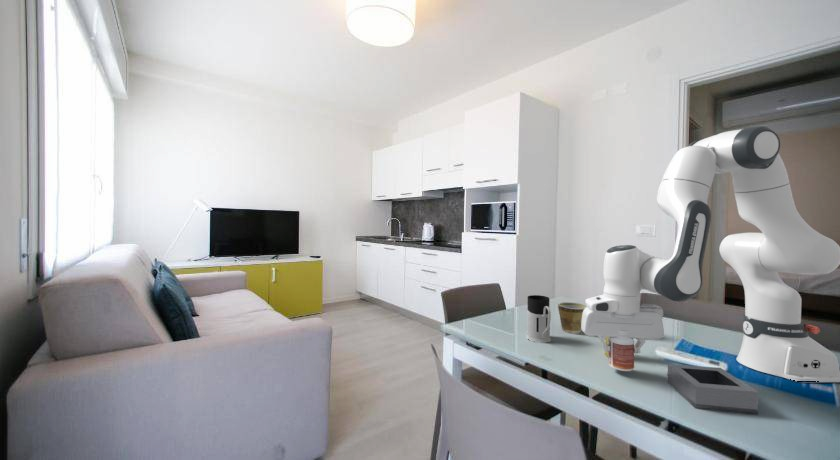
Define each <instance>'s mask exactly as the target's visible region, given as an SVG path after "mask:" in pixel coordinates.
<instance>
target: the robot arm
mask: <svg viewBox="0 0 840 460" xmlns="http://www.w3.org/2000/svg"><path fill="white" fill-rule="evenodd" d="M780 149H781V140H780V137H779V135H778V134H777V133H776V132H775V131H774V130H772V129H771V128H770V127H766V126H747V127H744V128H742V129H741V128H740V129H735V130H728V131H723V132H720V133H718V134H714V135H710V136H709V137H705V138H699V139H697V140H694V141H693V142H691V143H689V144H688V145H686V146H684V147H682V148H680V149H679V150H677V152H675V153H674V155H673V156H672V158H671V160H670V161H669V163H668V165H667V167H666V169H665V171H664V173H663V176H662V177H661V181H660V184H659V186H658V189H657V192H656V204H657V206H658V207H659V209H660V210H661V211H662V212H663V213H664V214H666V215H668V216H669V217H671V218H673V219H674V220H675V221H676V223H677V234H676V238H675V239H676V240H675V243H674V249H673V253H672V256H671V257H670V258H669V259H666V258H662V257H657V256H654V255H651V254H649V253H646V252H645V251H642V250H641V249H639V248H638V247H637V246H636V245H632V244H624V245H616V246H612V247H609V248H608V249H607V250H606V251H605V254H604V257H603V258H604V259H603V266H602V267H603V268H602V271H603V272H602V274H603V275H602V276H603V277H602V278H603V280H604V286H603V291H602V292H603V293H602V294H599V295H596V296H592V297H588V298H586V299H585V300H584V301H585V302H584V305H585V306H586V308H585V309H584V310H583V314H582V320H581V329H582V331H581V332H583V333H584V334H585V335H586V336H590V337H592V336H593V337H597V338H598V340H599V341H600V342H601V344H602V350H603V351H604V353H605V352H610V345H609V344H606V343H605V340H606V336H608V337H619V335H618V330H624V331H630V335H629V336H628V337H629V338H633V339H636V340H637V341H636V343H634V354H641V348H642V347H643V345H644V344H645V343H646V339H647V340H649V339H650V340H661V339H662V338H663V337H665V330H664V322H663V318H664V310H663V308H662V307H661V306H659V305H657V304H654V303H651V304H650V303H649V304H648V303H641V291H642V290H645V291H648V292H650V293H654V294H655V295H656V294H657V295H660V296H662V297H663V298H666V299H668V300H670V301H673V302H681V303H682V302H687V301H689V300H691V299H693V298H695V296H697V295H698V294H699V292H700V291H701V289H702V288H703V287H702V286H703V283H704V281H703V279H704V277H703V273H704V271H703V265H704V264H703V263H704V258H705V252H706V247H707V243H708V238H709V233H710V227H711V221H712V220H711V219H712V213H711V209H710V206H709V205H708V198H709V195H710V190H711V188H712V184H713V182H714V177H715V174H725V173H726V174H728V173H730V174H731V177H732V186H733V187H732V188H733V192H734V193H733V194H734V197H735V198H734V199H735V202H736V203H735V204H736V207H737V212H738V216H739V217H740V218H741V219H742V220H744V221H746V223H749V224H752V225H754V226H755V227H757V229H759V230H760V232H750V231H749V232H741V233H733V234H729V235H727V236H726V237H724V238H723V239H722V240H721V243H720V244H719V250H718V251H719V254H720V257H721V259H722V260H723V261H724V262H725V263H727V264H728V265H729V266H731V268H733V270H734V271H735V273H736V274H737V275H738V277H739V279H740V281H741V283H742V287H743V290H744V304H745V305H744V306H745V307H744V312H745V313H744V314H742V333H743V337H742V341H741V345H740V350H739V353H738V355H737V356H736V359H735V360H736V361H737V362H738V363H739V364H740V365H743V366H744V367H747V368H749V369H752V370H755V371H758V372H761V373H763V374H764V373H766V374H768V375H773V376H776V377H780V378H785V379H787V380H790V379H791V380H790V381H793V380H795V381H794V382H797V381H816V382H815V383H840V364H839V361H838V358H837V356H836V354H834V352H833V351H831V350H829V349H828V348H826V346H823V345H822V344H821V343H819V342H817V341H816V340H814V339H813V338H812V337H810V335H809V333H812V334H814V335H818V334H819V333H820V332H821V330H820V328H819V327H818V326H816V325H812V324H805V323H803V322H802V302H803V301H802V296H801V295H800V293H799V292H798V291H797V290H796V289H795V288H793V287H791V286H789V285H788V284H787V283H785V282H784V281H783V280H782V278H781V277H780V275H779V273H783V274H784V273H786V274H793V275H804V276H805V275H807V276H808V275H827V274H830V273H832V272H834V271H836V269H837V268H838V267H839V266H840V245H839V244H838V243H837V242H836V241H835V240H834V239H832V238H830V237H827V236H825V234H824V235H823V234H822V233H820V232H818V231H817V230H816V229H814V228H813V227H812V226H810V225H809V224H808V222H806V221H805V219H803V217H802V216H801V214H800V213H799V211H798V210H797V207H796V204H795V200H794V196H793V192H792V188H791V184H790V178H789V173H788V171H787V168H786V166H785V163H784V160H783V159H782V157H781V154H780ZM808 332H809V333H808ZM817 381H819V382H817Z"/></svg>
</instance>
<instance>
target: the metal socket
mask: <svg viewBox="0 0 840 460" xmlns="http://www.w3.org/2000/svg"><path fill="white" fill-rule="evenodd" d="M667 384H668V385H669V386H671V388H672V389H674V390H675V392H677V393H678V394H679V395H680V396H682V398H684V399H685V401H687V402H688V403H689V404H690V405H691V406H693V408H694V409H701V410H712V411H721V412H722V411H723V412H731V413H740V414H741V413H742V414H752V415H758V414H759V391H757V390H756V389H754V388H753V387H752V386H749V385H748V384H746V383H745V382H743V381H742V380H741V379H739V378H738V377H736V376H734V375H733V374H731V373H729V371H727V370H724V369H723V368H722V367H716V366H715V367H712V366H711V367H710V366H699V365H689V364H688V365H684V364H675V363H674V364H671V363H667Z"/></svg>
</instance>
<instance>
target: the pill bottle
mask: <svg viewBox="0 0 840 460" xmlns="http://www.w3.org/2000/svg"><path fill="white" fill-rule="evenodd" d="M618 335H619V337H609V345H610V352H609V357H608V366H610V367H611V369H612V368H613V369H614V370H618V371H621V372H632V371H633V370H634V369H635V353H634V345H635V340H634V338H629V337H628V336H629V335H630V331H624V330H618Z"/></svg>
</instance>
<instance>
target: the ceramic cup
mask: <svg viewBox="0 0 840 460" xmlns="http://www.w3.org/2000/svg"><path fill="white" fill-rule="evenodd" d="M586 307H587V306H586V304H582V303H579V302H578V303H577V302H568V301H567V302H565V301H564V302H559V303H557V308H558V314H559V320H560V325H561V330H563V332H565V333H568V334H573V335H574V334H575V335H576V334H577V335H578V334H580V333H581V332H583V331H582V329H581V320H582V314H583V310H584V309H585V308H586Z"/></svg>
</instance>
